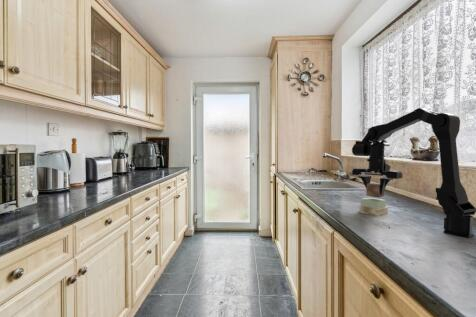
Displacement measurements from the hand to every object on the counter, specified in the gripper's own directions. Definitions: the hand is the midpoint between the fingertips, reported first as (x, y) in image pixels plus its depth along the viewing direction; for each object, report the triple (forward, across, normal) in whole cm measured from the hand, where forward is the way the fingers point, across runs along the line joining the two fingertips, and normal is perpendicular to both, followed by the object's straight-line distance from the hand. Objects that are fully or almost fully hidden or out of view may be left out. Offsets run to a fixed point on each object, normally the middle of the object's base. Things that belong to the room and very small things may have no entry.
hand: (375, 193), depth 115 cm
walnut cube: (+1, 0, 0) cm, 1 cm away
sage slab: (+6, 0, 0) cm, 6 cm away
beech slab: (+9, 0, 0) cm, 9 cm away
